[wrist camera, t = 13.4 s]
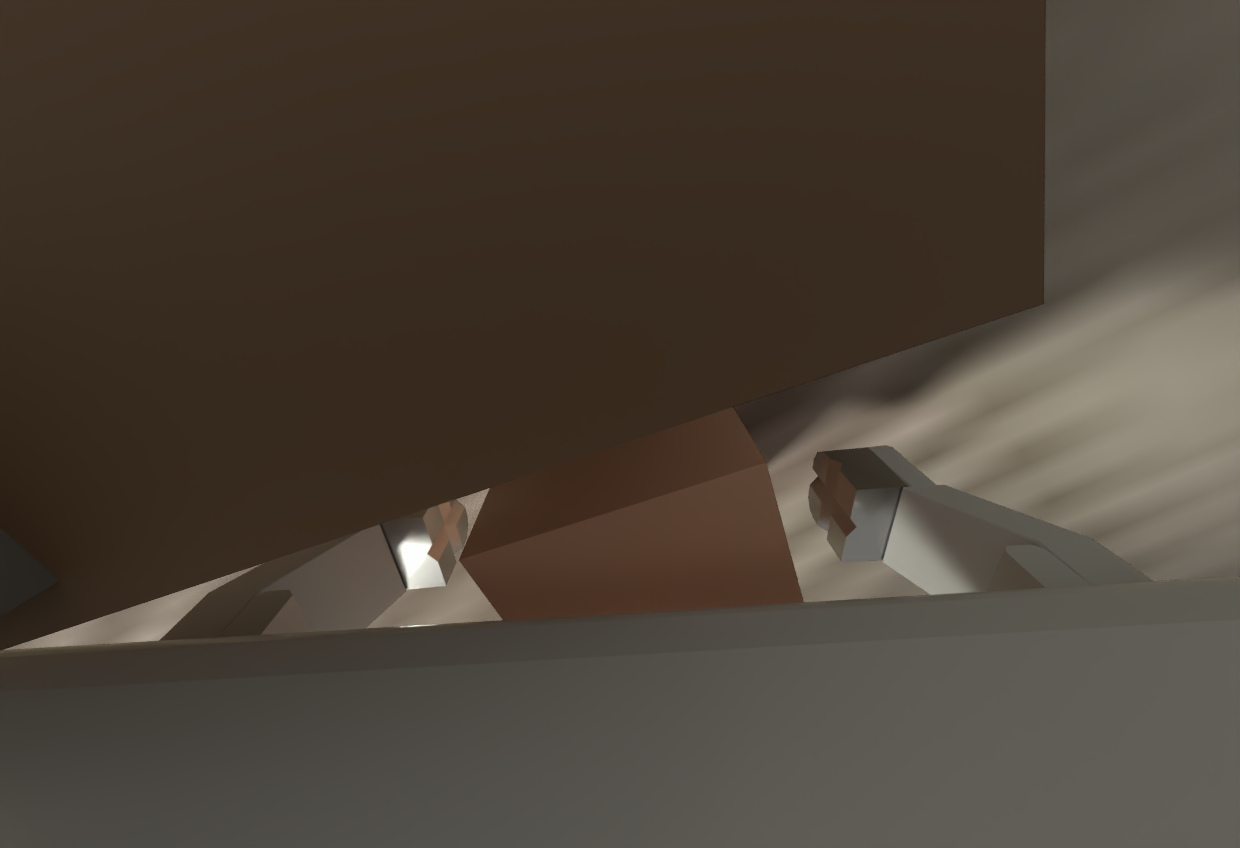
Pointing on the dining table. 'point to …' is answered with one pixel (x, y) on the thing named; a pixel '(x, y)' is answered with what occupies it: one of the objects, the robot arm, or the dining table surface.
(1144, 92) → the dining table surface
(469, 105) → the lid
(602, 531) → the cube
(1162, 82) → the dining table surface
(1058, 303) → the dining table surface
